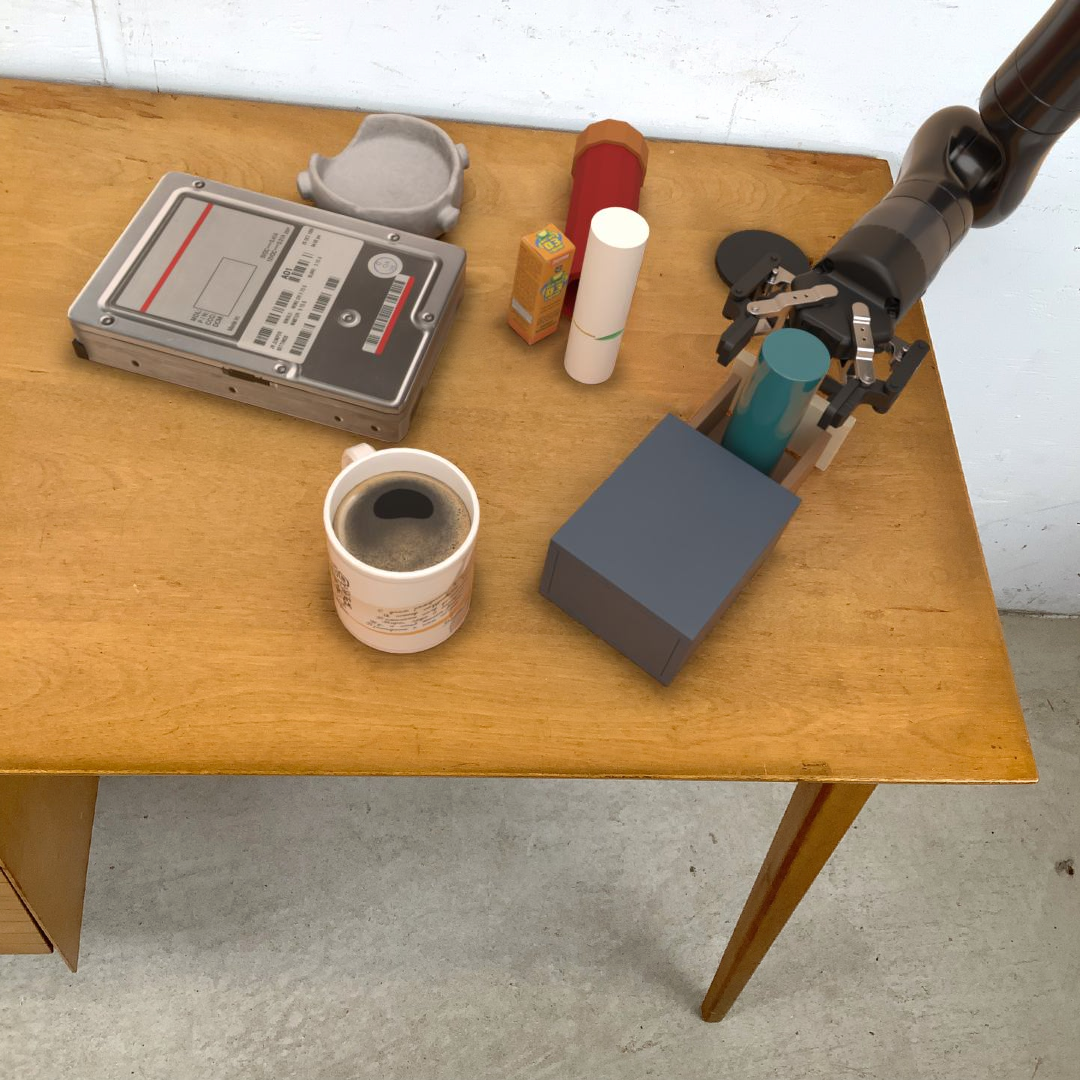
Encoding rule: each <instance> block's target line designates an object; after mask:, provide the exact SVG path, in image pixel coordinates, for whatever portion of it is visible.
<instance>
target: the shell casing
mask: <svg viewBox="0 0 1080 1080" xmlns="http://www.w3.org/2000/svg"><path fill="white" fill-rule="evenodd" d="M574 146H575V147H574V151H573V158H572V164H571V170H570V175H571V178H572V179H573V180H572V186H571V192H570V199H569V204H568V211H567V216H566V222H565V227H564V233H563V234H564V235H565V236H566V237H567V238H568V239H569V240H570V242H571V243H572V244H573V245H574V246H575V253H574V257H573V262H572V266H571V270H570V274H569V279H568V283H567V287H566V292H565V296H564V300H563V305H562V309H561V313H560V314H562V315H564V316H565V317H566V318H569V319H570V320H572V318H573V313H574V308H575V303H576V297H577V292H578V287H579V282H580V277H581V272H582V267H583V262H584V257H585V252H586V247H587V242H588V237H589V232H590V226H591V221H592V219H593V217H594V215H595V214H596V213H598V212H599V211H601V210H603V209H606V208H611V207H621V208H626V209H629V210H632V211H634V212H636V213H637V214H639V206H640V198H641V191H642V188H643V187H644V184H645V183H644V182H645V179H646V176H647V171H648V163H649V162H648V161H649V153H650V150H649V147H648V144H647V142H646V140H645V137H644V134H643V133H641V132H640V131H639V129H637V128H635V127H634V126H633V125H631V124H630V123H629V122H627V121H625V120H618V119H613V118H606V119H603V120H600V121H596V122H592V123H590V124H588V126H586V128H585V129H583V131H582V132H581V133H580V134H579V135H578V136H577V137H576V142H575V145H574Z"/></svg>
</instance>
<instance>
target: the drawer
mask: <svg viewBox="0 0 1080 1080" xmlns="http://www.w3.org/2000/svg"><path fill="white" fill-rule="evenodd" d="M756 357H757V355H754V354H753V353H751V352H749V351H748V350H746V349H744V348H743V349H742V351H741V352H740V353H739V354H738V355H737V356H736V357H735V358H734V360H733V364H732V366H731V369H730V371H729V373H728V376H727V378H726V381H724V383H723V384H722V385H721V386H720V387H719V388H718V390H716V392H714V394H713V395H712V396H711V397H710V398H709V399H708V400H707V402H706V403H705V404H704V405H703V406H702V407H701V408H700V409H699V410H698V412H697V413H695V415H694V416H693V417H692V418H691V419H690V420H689V421H688V422H687V424H688V425H689V426H691V427H693V428H694V429H696V430H697V431H699V432H700V433H702V434H703V435H705V436H706V437H708V438H709V439H711V440H712V441H714V442H715V443H717V444H718V445H719V442H720V440H721V438H722V435H723V433H724V431H725V429H726V426H727V424H728V422H729V419H730V417H731V415H729V414H728V412H730V413H732V412H733V410H734V408H735V406H736V403H737V401H738V399H739V396H740V394H741V392H742V389H743V387H744V385H745V382H746V380H747V378H748V376H749V373H750V371H751V369H752V366H753V364H754V362H755V359H756ZM843 387H844V383H841V381H838V380H837V379H835V378H833V377H832V376H830V375H829V374H828V373H827V374H826V376H825V378H824V379H823V381H822V383H821V385H820V387H819V389H818V391H819V392H820V393H822V394H823V395H825V396H826V397H827V399H825V398H823V397H821V396H820V395H818V394H817V393H816V394H815V396H814V398H813V400H812V402H811V404H810V406H809V408H808V409H807V411H806V413H805V415H804V417H803V419H802V421H801V423H800V424H799V426H798V428H797V430H796V432H795V434H794V436H793V438H792V439H791V441H790V443H789V445H788V447H787V450H789V451H791V452H792V453H794V454H795V455H796V456H798V457H800V459H797V458H795V457H794V456H793V455H791V454H790V453H788V452H786V451H785V453H784V455H783V456H782V458H781V460H780V462H779V464H778V466H777V468H776V470H775V471H774V473H773V475H772V477H771V479H772V480H773V481H775V482H776V483H778V484H779V485H781V486H783V487H784V488H786V489H787V490H789V491H790V492H792V493H793V494H795V495H796V492H797V491H798V490H800V488H801V487H802V485H803V484H804V483H805V481H806V480H807V479H808V478H809V476H810V475H811V473H812V471H813V469H814V468H817V469H819V470H820V471H822V472H825V471H826V469H827V468H828V467H829V465H830V464H831V463H832V462H833V460H834V459H835V456H836V455H837V453H838V452H839V450H840V448H841V447H842V445H843V443H844V442H845V440H846V438H847V436H848V435H849V433H850V432H851V430H852V428H853V426H854V425H855V423H856V422H857V418H855V417H854V416H852V414H851V415H850V416H849V417H848V419H847V420H846V421H845V423H844V424H843V425H842V426H841V427H839V428H837V429H835V428H833V427H832V426H829V427H828V428H827V430H826V431H824V430H822V429H821V428H819V427H818V426H816V425H817V423H818V422H819V420H820V418H821V416H822V414H823V413H824V411H825V409H826V408H827V407H828V405H829V404H830V403H831V401H832V400H833V399H834V398H835V397H836V395H837V394H838V393H839V392H840V391H841V389H842V388H843Z"/></svg>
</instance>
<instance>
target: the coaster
mask: <svg viewBox="0 0 1080 1080" xmlns="http://www.w3.org/2000/svg"><path fill="white" fill-rule="evenodd" d="M771 252H774V253H777V254H779V255H780V256H781V258H782V261H781V264H780V267H782V268H783V269H785V270H786V271H788V272H790V273H791V274H793V275H794V276H798V275H800V274H804V273H807V272H809V271H810V270H811V269H812V268H811V264H810V261H809V259H808V257H807V255H806V254H805V252H804V251H803V250H802V249H801V247H799V246H798V245H796V244H795V243H794V242H793V241H791V240H789V239H788V238H786V237H785V236H783V235H780V234H779V233H775V232H772V231H768V230H764V229H744V230H740V231H735V232H734V233H731V234H729V235H727V237H725V238H724V239H723V240H722V241H721V242H720V244H719V245H718V247H717V249H716V252H715V258H714V259H715V261H714V263H715V267H716V271H717V273H718V275H719V276H720V278H721V280H723V282H724V283H725V284H726V285H727V286H728V287H729V288H730V289H731V287H732V286H733V285H734V284H735V283H736V282H737V281H738V280H739V279H741V278H742V277H743V276H744V275H745V274H746V273H747V272H748V271H749V270H750V269H751V268H753V267H754V266H755V265H756V264H757V263H758V262H759V261H760V260H761V259H762V258H763V257H764V256H766V255H767V254H768V253H771ZM785 292H786V291H784V290H777V291H775V292H773V293H770V294H769V296H765V295H763V294H762V295H761V296H760V297H759V298H758V299H757V300H756V301H762V300H769V299H773V298H774V297H775V296H777V295H778V294H780V293H785Z"/></svg>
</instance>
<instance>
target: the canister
mask: <svg viewBox="0 0 1080 1080" xmlns="http://www.w3.org/2000/svg"><path fill="white" fill-rule="evenodd" d="M831 361H832V359H831V360H830V354H829V352H828V350H827V348H826V346H825V345H824V344H823V343H822V342H821V341H820V340H819V339H818V338H817V337H815V336H814V335H812V334H810V333H808V332H806V331H803V330H800V329H794V328H783V329H778V330H776V331H773V332H772V333H770V334H769V335H766V337H765V338H764V339H763V341H762V344H761V346H760V348H759V350H758V352H757V355H756V359H755V362H754V364H753V366H752V369H751V371H750V373H749V376H748V378H747V380H746V382H745V385H744V387H743V389H742V392H741V394H740V396H739V399H738V401H737V403H736V406H735V408H734V410H733V412H731V415H730V419H729V422H728V424H727V426H726V429H725V431H724V433H723V435H722V438H721V440H720V442H719V445H720V446H722V447H723V448H725V449H726V450H728V451H729V452H731V453H732V454H734V455H735V456H737V457H738V458H740V459H741V460H743V461H744V462H746V463H747V464H749V465H751V466H752V467H754V468H755V469H757V470H758V471H760V472H761V473H763V474H764V475H766V476H767V477H769V478H770V479H771V477H772V475H773V473H774V471H775V470H776V468H777V466H778V464H779V462H780V460H781V458H782V456H783V455H784V453H785V452H786V451H787V450H788V448H787V447H788V445H789V443H790V441H791V439H792V438H793V436H794V434H795V432H796V430H797V428H798V426H799V424H800V423H801V421H802V419H803V417H804V415H805V413H806V411H807V409H808V408H809V406H810V404H811V402H812V400H813V398H814V396H815V394H817V393H818V391H819V390H818V389H819V387H820V385H821V383H822V381H823V379H824V378H825V376H826V374H827V375H828V372H829V370H830V368H831Z"/></svg>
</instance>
